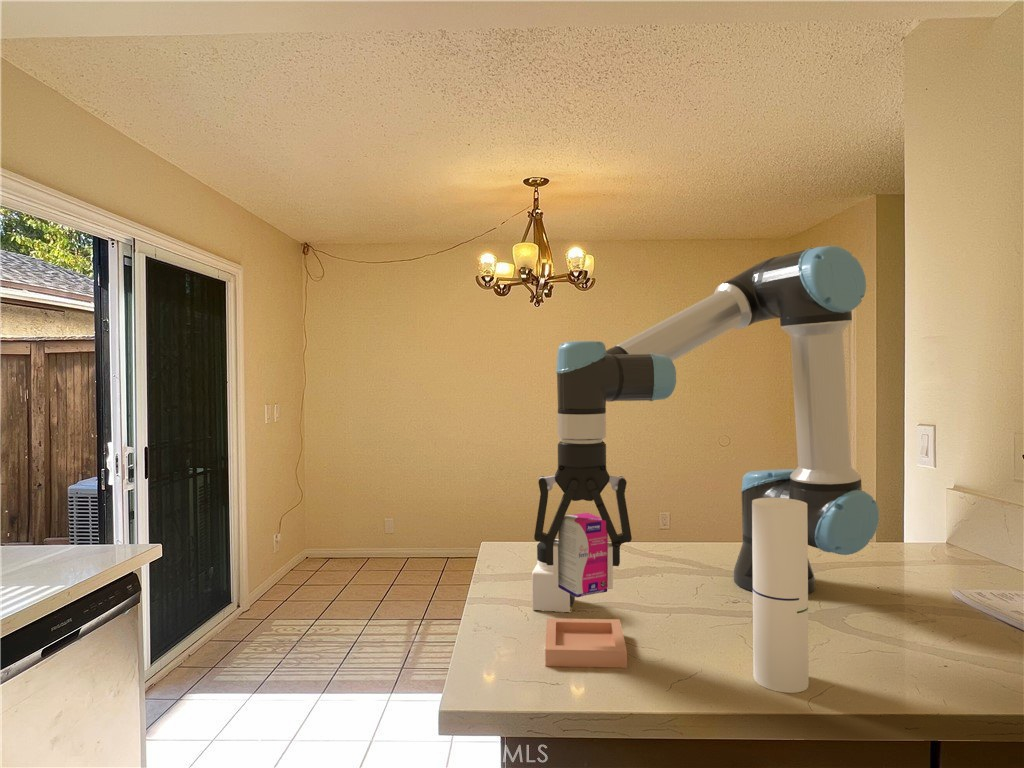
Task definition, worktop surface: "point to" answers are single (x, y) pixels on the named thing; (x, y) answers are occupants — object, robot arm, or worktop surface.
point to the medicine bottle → (548, 586)
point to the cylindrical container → (780, 594)
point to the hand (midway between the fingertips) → (582, 585)
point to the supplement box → (582, 555)
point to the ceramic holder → (585, 643)
